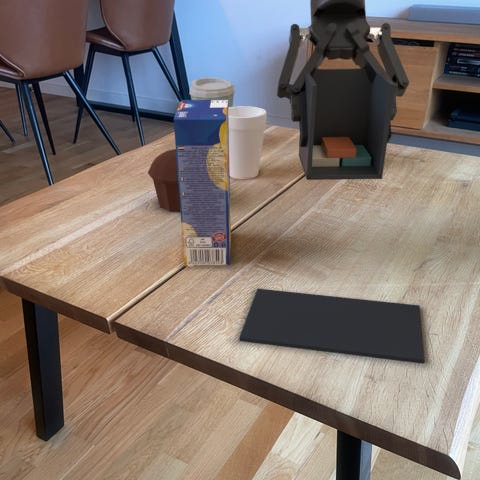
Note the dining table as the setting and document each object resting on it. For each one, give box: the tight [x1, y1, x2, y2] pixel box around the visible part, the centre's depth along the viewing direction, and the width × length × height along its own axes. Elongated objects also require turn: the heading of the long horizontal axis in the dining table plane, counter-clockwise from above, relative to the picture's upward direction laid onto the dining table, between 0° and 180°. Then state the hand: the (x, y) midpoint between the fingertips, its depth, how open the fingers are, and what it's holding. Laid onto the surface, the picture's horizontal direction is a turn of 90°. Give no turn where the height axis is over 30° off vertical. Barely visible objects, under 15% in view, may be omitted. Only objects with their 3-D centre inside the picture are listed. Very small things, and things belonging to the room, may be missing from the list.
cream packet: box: [312, 145, 340, 167], centre depth 79 cm, size 6×4×1 cm, turn 1°
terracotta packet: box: [321, 137, 356, 158], centre depth 79 cm, size 6×4×1 cm, turn 1°
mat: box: [238, 288, 426, 364], centre depth 71 cm, size 22×12×1 cm, turn 78°
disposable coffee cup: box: [189, 76, 236, 108], centre depth 131 cm, size 11×11×15 cm
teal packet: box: [340, 145, 371, 166], centre depth 79 cm, size 6×4×1 cm, turn 1°
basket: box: [298, 68, 395, 181], centre depth 76 cm, size 11×10×12 cm
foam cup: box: [228, 105, 268, 180], centre depth 115 cm, size 10×9×13 cm
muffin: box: [147, 148, 181, 213], centre depth 102 cm, size 12×11×10 cm
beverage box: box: [173, 99, 232, 268], centre depth 83 cm, size 7×11×22 cm, turn 0°
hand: (345, 141), depth 74 cm, fingers closed on basket, 10 cm apart
